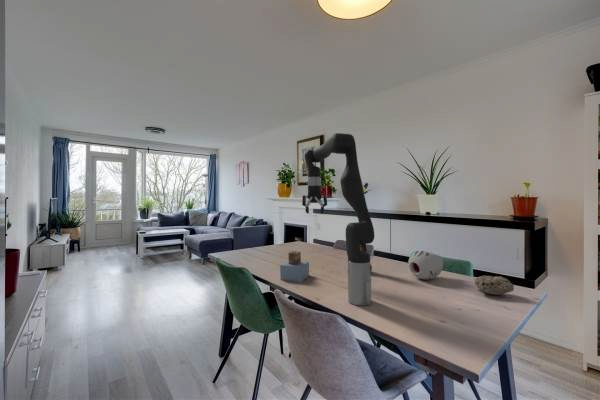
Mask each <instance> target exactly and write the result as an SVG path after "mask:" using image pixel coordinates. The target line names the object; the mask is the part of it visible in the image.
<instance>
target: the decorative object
mask: <svg viewBox="0 0 600 400" xmlns="http://www.w3.org/2000/svg"><path fill="white" fill-rule="evenodd" d="M408 267H409V270H410V272H411V273H412V275H414V276H415V277H417V278H419V279H420V280H424V281H425V280H432V279H434V278H437V277H438V276H439V275H441V273H442V271H443V269H444V268H445V264H444V260H443V258H442V256H441V255H438V254H436V253H434V252H433V253H432V252H429V251H426V250H416V251H414V252H413V253H412V254H410V257H409V258H408Z"/></svg>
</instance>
